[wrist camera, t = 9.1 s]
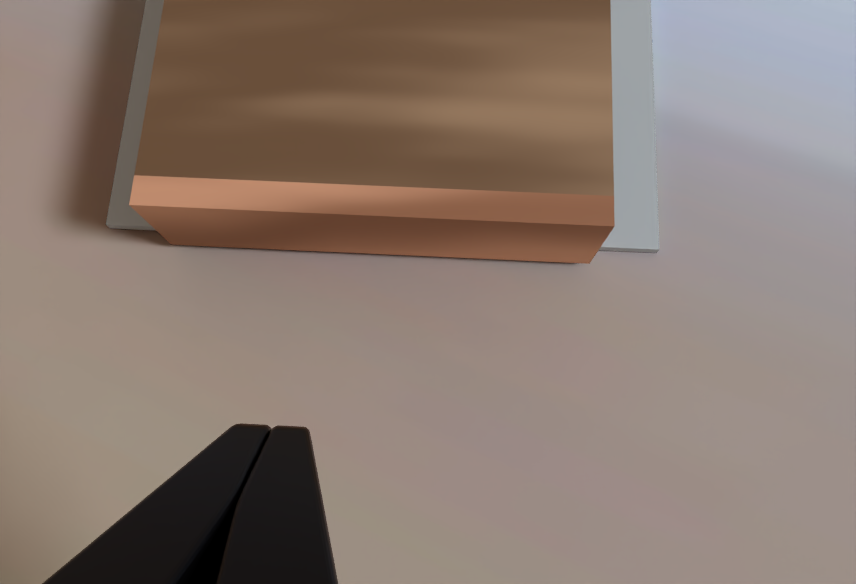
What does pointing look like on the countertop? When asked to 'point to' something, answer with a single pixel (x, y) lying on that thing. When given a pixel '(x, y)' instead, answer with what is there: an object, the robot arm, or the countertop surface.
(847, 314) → the countertop surface
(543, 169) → the walnut slab
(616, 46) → the mat
